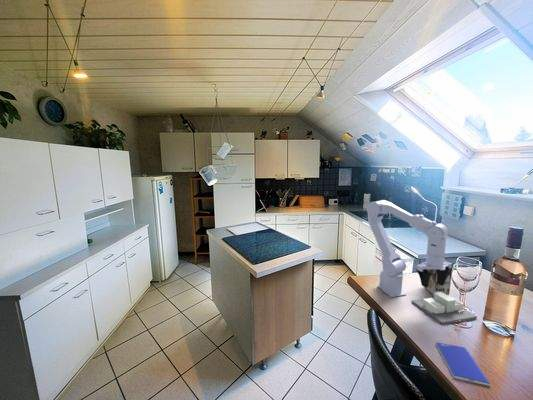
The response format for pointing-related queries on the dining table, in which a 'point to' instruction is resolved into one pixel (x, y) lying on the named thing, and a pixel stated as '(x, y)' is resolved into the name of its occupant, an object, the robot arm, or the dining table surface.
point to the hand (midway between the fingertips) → (432, 285)
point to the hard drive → (461, 363)
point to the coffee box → (433, 284)
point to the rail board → (446, 315)
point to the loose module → (445, 301)
